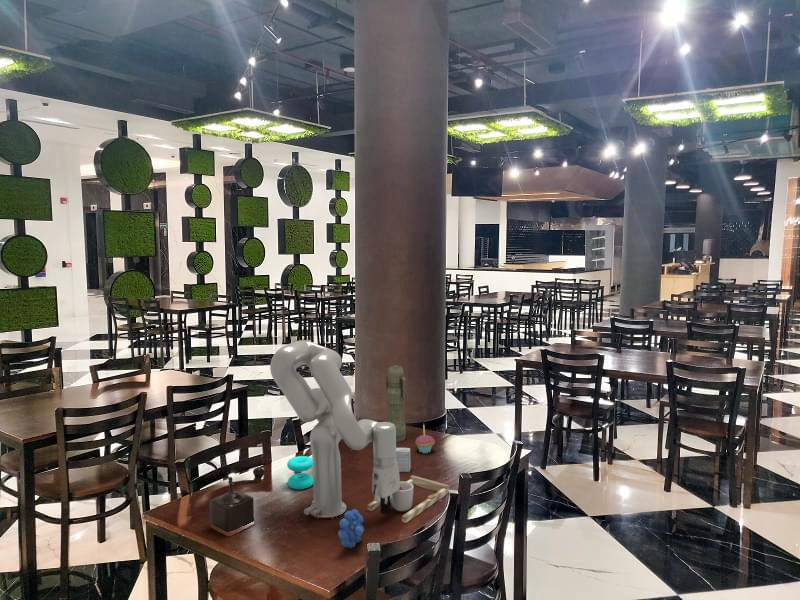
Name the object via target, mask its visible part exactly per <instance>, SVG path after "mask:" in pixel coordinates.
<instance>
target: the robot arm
mask: <svg viewBox="0 0 800 600" xmlns="http://www.w3.org/2000/svg"><path fill="white" fill-rule="evenodd" d="M342 360H343V359H342V357H341V355H340V354H339V353H338V352H337V351H336V350H334V349H330V348H328V347H325V346H323V345H319V344H316V343H314V342H311V341H307V340H296V341H293V342H291V343H288V344H285V345H283V346H281V347H280V348H278V349H277V350H276V351H275V353H274V354H273V356H272V358H271V360H270V367H269V369H270V370H269V371H270V374H271V377H272V379H273V381H274V382H275V384H276V385H277V386H278V388H279V389H280V390H281V392H282V393H283V395H284V396H285V399H286V400H287V401H288V403H289V405H290V406H291V407H292V409H293V411H294V412H295V414H296V415H297V416H298V418H299V420H301V421H303V422H305V423H311V422H315V421H317V423H316V424H315V425H314V427H312V429H311V430H310V431H311V432H310V435H309V443H310V449H311V458H312V460H313V467H312V476H313V485H312V486H313V500H312V501H311V505H310V507H307V508H304V510H303V514H304V515H306V516H308V515H311V514H313V515H315V516H318V517H334V516H338V515H341V514H343V513H344V512H345V511H346V512H347V504H346V503H344V501H342V495H343V493H342V463H341V462H342V460H341V453H340V449H339V448H340V447H339V442H341V441H342V440H343V442H344V443H345V445H346V446H347V447H348V448H350V449H351V450H354V451H361V450H363V449H364V448H366V447H367V446H368V445H369V444H370V442H372V443H373V445H372V446H373V448H372V451H373V467H372V473H371V474H372V475H371V493H372V496H374V498H373V501H376V502H380V505H381V506H380V514H383V515H385V516H388V515H390V514H391V513H392V504H391V501H392V496H393V493H395V492H396V491H398V490H399V488H400V481H401V479H400V472H399V468H398V463H397V461H396V448H397V442H396V427H395V425H394V424H393V423H390V422H388V421H381V422H380V421H376V420H373V419H369V418H362V419H359V420H357V419H356V417H355V414H354V412H353V408H352V407H353V406H352V396H353V395H352V389H351V387H350V385H349V383H348V382H347V380H346V379H345V377H344V375H343V374H342V372H341V371H340V369H341V368H342V365H343V361H342ZM301 366H307V367H309V372H310V373H311V375H312V377H313V379H314V380H315V382H316V383H317V385H318V387H315V388H311V387H310V385H309V383H308V382H307V380H306V379H305V377H304V376H302V375H301V374H300V373H299V372H298V371H297V369H298V368H299V367H301ZM346 512H345V513H346ZM310 513H311V514H310ZM345 513H344V514H345ZM344 514H343V515H344ZM341 516H342V515H341Z"/></svg>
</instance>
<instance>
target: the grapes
mask: <svg viewBox="0 0 800 600" xmlns="http://www.w3.org/2000/svg"><path fill="white" fill-rule="evenodd" d="M343 515H344V516H343V517H344V518H342V519H340V521H339V523H338V524H339V527H340V529H339V530H338V533H337V535H338V536H337V537H338V538H339V539H340V544H341V546H342V547H344V548H346V547H347V548H348V547H349V549H353V548H355V546H356V545H357V544H358V543H360V542H361V540H362V537H361V536H362V535H363V534H364V531H365V529H364V528H365V527H364V525H363V524H362V523H364V518H363V516H362V515H361V514H360V512H359V511H358V509H352V510H346V512H345V513H344V514H343ZM352 547H353V548H352Z"/></svg>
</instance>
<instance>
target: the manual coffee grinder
mask: <svg viewBox="0 0 800 600" xmlns="http://www.w3.org/2000/svg"><path fill="white" fill-rule="evenodd" d="M252 474H253V476H254V477H253V480H251V479H245V480H244V479H243V480H236V481H233V477H232V476H229V477H228V481H227V484H228V486H229V487H228V488H229V489H228V490H229V491H228V492H226V493H224V494H222V495H219V496H216V497H214V498H212V499H209V501H208V504H209V505H208V506H209V507H208V508H209V525H210V524H212V525H214V526H216V527H218V528H220V529H222V530H224V531H226V532H230V531H233V530H236V529H238V528H240V527H242V526H245V525H247V524H249V523H251V522H253V521H254V522H255V510H254V509H255V507H254V506H255V505H254V497H253V496H251V495H249V494H245V493H244V492H241V491H238V490H236V489H233V485H240V484H246V483H247V484H248V483H249V484H258V483H262V482H263V481H262V478H263V477H264V475H265V474H266V470H265V469H264V468H262V467H259V466H258V467H256V468H254V469H252Z"/></svg>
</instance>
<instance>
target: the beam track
mask: <svg viewBox="0 0 800 600" xmlns="http://www.w3.org/2000/svg"><path fill="white" fill-rule="evenodd" d="M405 482H409V483H411V484H413V486H414V487H416V486H417V487H419V488H422V489H426V490H429V491H433V492H436V493H434V494H430V495H428V496H427V499H425V500H423V501H422V502H421V503H419V504H418V505H416V506H415V507H413V508H411V509H409V510H408V511H406V513H405V514H403V515H402V516H401V522H402V523H405V524H407V523H408V522H410V521H411V520H413V519H414V518H415V517H417V516H418V515H420V514H421V513H422V512H424V511H426V510H427V509H428V508H429V507H431V506H432V505H433V504H435V503H437V502H438V501H440V500H441V499H442V498H444V497H445V496H446V495H448V494H449V493H448V491H449V490H450V486H449V484H447V483H443V482H439V481H435V480H431V479H428V478H423V477H421V476H417V475H410V478H409V479H408V480H406V481H405ZM449 492H450V491H449ZM379 507H381V505H380V502H376V501H374V500H373V501H371V502H369V503H368V504H367V511H368V510H369V511H368V512H373V511H374V510H376V509H377V508H379Z"/></svg>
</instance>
